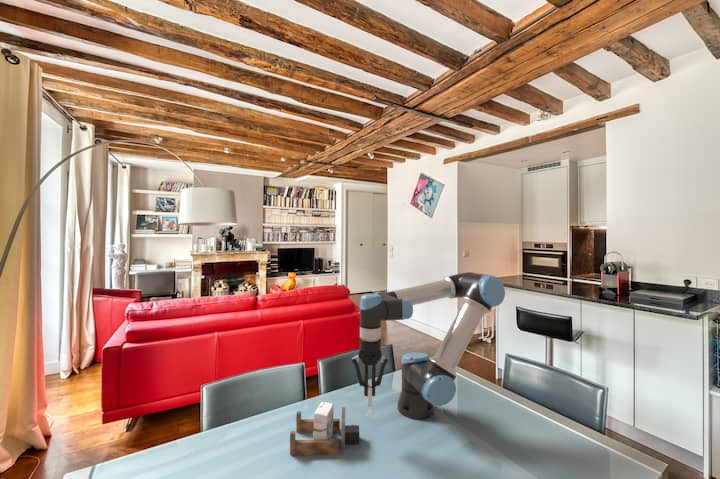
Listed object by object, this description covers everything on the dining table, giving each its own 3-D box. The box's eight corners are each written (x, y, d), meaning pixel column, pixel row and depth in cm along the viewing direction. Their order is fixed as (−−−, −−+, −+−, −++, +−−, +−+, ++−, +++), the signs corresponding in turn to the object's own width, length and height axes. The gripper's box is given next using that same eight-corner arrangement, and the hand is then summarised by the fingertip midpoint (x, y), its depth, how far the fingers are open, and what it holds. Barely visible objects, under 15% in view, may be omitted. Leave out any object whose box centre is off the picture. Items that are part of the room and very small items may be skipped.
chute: (339, 429, 115) (339, 410, 115) (338, 454, 102) (338, 433, 102) (297, 430, 115) (297, 411, 115) (289, 455, 101) (290, 433, 101)
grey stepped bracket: (358, 431, 114) (358, 407, 114) (359, 449, 104) (359, 422, 104) (342, 431, 113) (342, 407, 113) (341, 449, 104) (341, 422, 104)
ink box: (326, 450, 104) (326, 415, 104) (312, 448, 105) (312, 413, 105) (333, 434, 112) (334, 402, 112) (320, 433, 113) (320, 400, 113)
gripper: (387, 335, 113) (386, 399, 113) (351, 335, 113) (351, 399, 113) (389, 341, 106) (389, 410, 105) (352, 341, 105) (351, 410, 105)
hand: (369, 404), depth 109 cm, fingers closed
